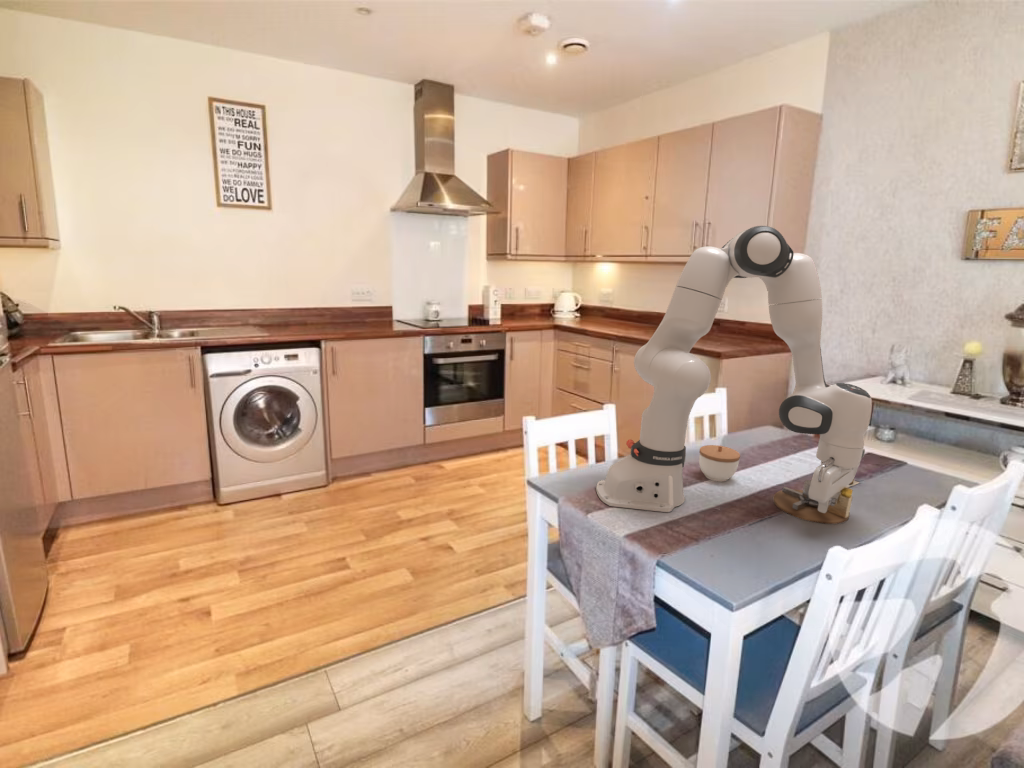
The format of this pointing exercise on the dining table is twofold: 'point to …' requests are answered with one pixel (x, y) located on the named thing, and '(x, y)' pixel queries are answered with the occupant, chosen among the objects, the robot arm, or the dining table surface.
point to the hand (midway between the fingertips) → (826, 508)
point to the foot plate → (805, 510)
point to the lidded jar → (718, 462)
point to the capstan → (804, 500)
